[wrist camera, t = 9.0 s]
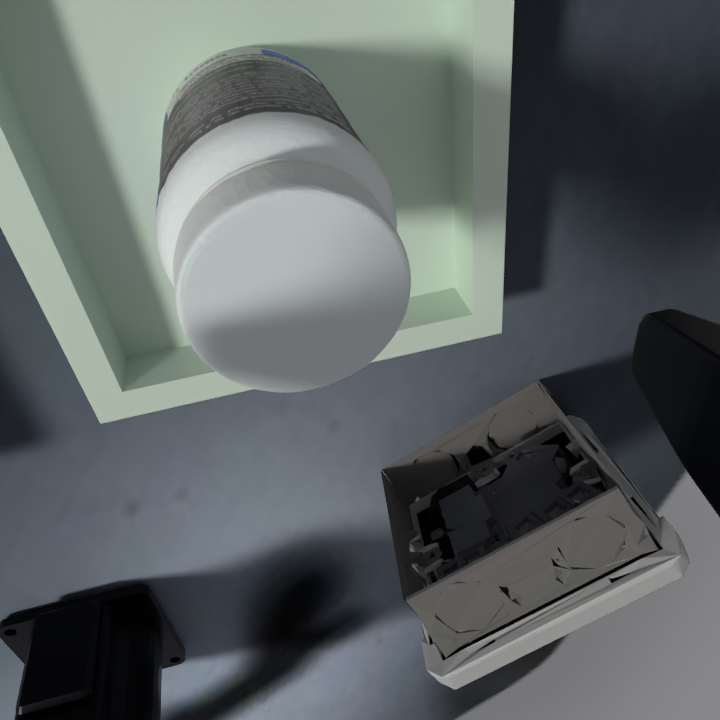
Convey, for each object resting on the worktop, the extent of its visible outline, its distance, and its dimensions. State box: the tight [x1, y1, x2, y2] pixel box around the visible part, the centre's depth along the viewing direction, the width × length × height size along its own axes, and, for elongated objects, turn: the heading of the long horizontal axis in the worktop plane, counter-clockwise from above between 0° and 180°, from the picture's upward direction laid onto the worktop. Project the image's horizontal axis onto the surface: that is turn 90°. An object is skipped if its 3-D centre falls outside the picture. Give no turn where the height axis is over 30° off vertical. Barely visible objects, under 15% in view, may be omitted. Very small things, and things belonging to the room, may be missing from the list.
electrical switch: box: [381, 381, 689, 690], centre depth 24 cm, size 9×5×9 cm, turn 120°
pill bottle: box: [156, 47, 411, 392], centre depth 14 cm, size 5×5×8 cm
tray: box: [0, 0, 514, 424], centre depth 17 cm, size 13×13×2 cm
